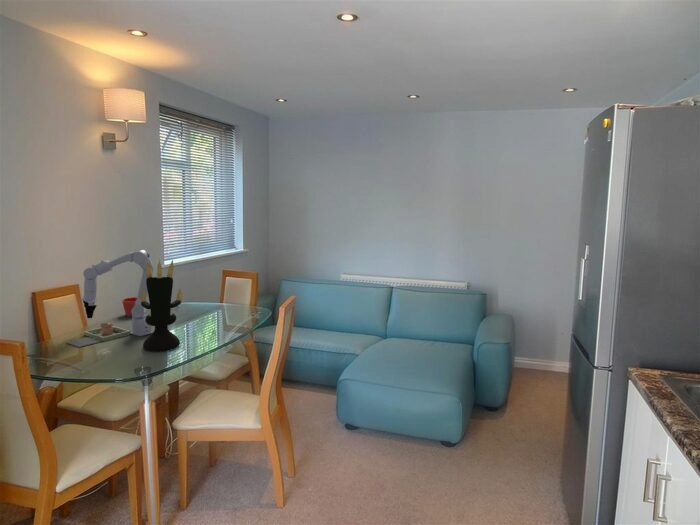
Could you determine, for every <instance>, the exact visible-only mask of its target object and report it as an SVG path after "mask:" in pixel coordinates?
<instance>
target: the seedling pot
mask: <svg viewBox="0 0 700 525" xmlns="http://www.w3.org/2000/svg"><path fill="white" fill-rule="evenodd" d="M112 326H114V322H111V321H109V322H102V323H101V324H100V328H102V332H101V336H103V337H105V336H109V335H113V334H114V330H113V327H112Z"/></svg>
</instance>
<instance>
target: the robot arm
mask: <svg viewBox="0 0 700 525" xmlns="http://www.w3.org/2000/svg"><path fill="white" fill-rule="evenodd" d="M147 260H148V262H149V264H150V266H151V269H152V275H153V273H154V269H155V265H154V263H153V261H152V259H151V255H150V253H149V252H148V251H146V250H145V249H142V248H141V249H138V250H137V251H136V250H134V251H132V252H128V253H125V254H124V255H121V256H119V257H117V258H115V259H113V260H104V259H103V260H101V261H100V262H99V263H96V264H92V265H91V266H89V267H87V268H85V269H84V270H83V274H82V275H83V277H84V281H83V282H84V283H83V298H80V301H82V302H83V307H84V310H85V314H86V317H87V319H93V317H94V313H95V309H96V308H97V306H98V305H97V304H95V302H96V301H97V300H98V299H97V290H98V289H97V288H98V287H97V286H98V276H102V275H103V274H107V273H108V272H111V271H112V270H113V268H114V267H117V266H120V265H121V264H124V263H126V262H129V263H135V264H136V265H138V266H139V267H140V268H141V269H142V276H141V279H140V284H139V288H138V291H137V300H136V302H135V306H134V307H133V309H132V310H131V314H132V317H131V319H132V320H131V324H132V326H131V327H132V331H131V335H134V336H138V337H143V336H146V335H151V334H152V333H153V332H154V331H152V326H151V325H148V324H147V323H146V321H145V319H146V316H147V315H148V314H147V313H146V312H147V311H148V309H146V308H144V307H143V306H142V305H141V294H142V292H143V289H144V292H145V294H146V302H148V300H147V298H148V291H147V285H146V279H147V278H148V277H147V274H146V264H147Z"/></svg>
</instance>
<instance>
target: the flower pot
mask: <svg viewBox="0 0 700 525" xmlns="http://www.w3.org/2000/svg"><path fill="white" fill-rule="evenodd" d="M136 300H137V297H135V296H134V297H126V298H123V299H122V304H123V310H124V313H125V316H126V315H127V316H126V317H129V316H132V314H131V310H132V309H133V307H134V306H135V302H136Z"/></svg>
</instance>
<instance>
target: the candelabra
mask: <svg viewBox="0 0 700 525" xmlns="http://www.w3.org/2000/svg"><path fill="white" fill-rule="evenodd" d="M146 274H147V277H148V278H147V279H146V285H147V291H148V296H147V298H148V301H147V302H146V294H145V292H144V289H143V292H142V294H141V305H142V306H143V307H144V308H146V309H147V310H150V313H148V314H146V315H147V316H146V319H145V321H146V323H147V324H148V325H151V327H154V331H152V332H153V333H150V334H149V335H148V336H147V337H146V338H145V340H144V341H143V344H142V347H143V349H145V351H148V352H155V353H156V352H157V353H158V352H160V351H161V352H167V350H169V351H172V350H175V349H177V348H178V347H179V346H180V344H181V342H180V339H179V338H178V336H176V334H174V333H172V332H171V331H170V330H169V327H168V326H170V325H174V323H175V322H176V321H177V316H176V314H175V313H174V312H172V311H171V309H174V308H177V307H178V306H180V305H181V304H182V303H183V295H182V294H183V293H182V289H181V287H179V289H178V291H177V293H176V300H174V301H172V295H173V294H172V293H173V288H174V287H173V285H174V278H173V275H174V259H172V260H171V263H170V264H169V267H168V269H167V273H166V276H163V267H162V264H161V259H158V263H157V267H156V274H157V275H156V276H157V277H156V276H155V277H154V276H153V274H152V269H151V266H150V264H149V262H148V260H147V264H146ZM176 347H177V348H176ZM174 348H175V349H174ZM171 349H172V350H171Z"/></svg>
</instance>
